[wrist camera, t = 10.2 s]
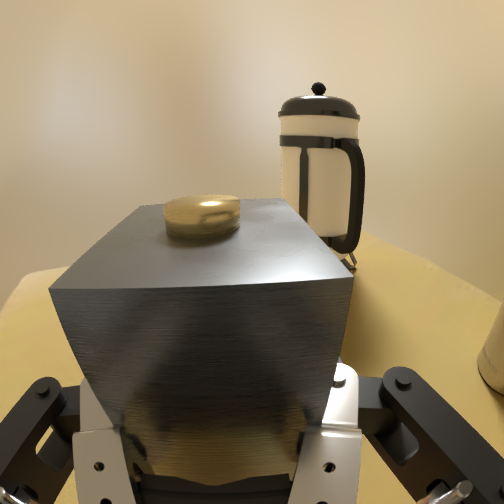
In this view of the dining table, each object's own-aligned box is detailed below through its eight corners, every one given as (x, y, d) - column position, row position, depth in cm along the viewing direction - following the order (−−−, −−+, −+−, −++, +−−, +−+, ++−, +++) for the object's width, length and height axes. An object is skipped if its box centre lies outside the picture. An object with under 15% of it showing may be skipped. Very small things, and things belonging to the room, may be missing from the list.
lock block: (275, 415, 14) (283, 181, 9) (291, 507, 9) (358, 239, 4) (187, 418, 14) (138, 189, 9) (181, 510, 8) (38, 255, 4)
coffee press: (251, 266, 47) (246, 78, 36) (298, 238, 59) (299, 91, 47) (350, 297, 37) (363, 67, 26) (378, 258, 49) (389, 91, 37)
